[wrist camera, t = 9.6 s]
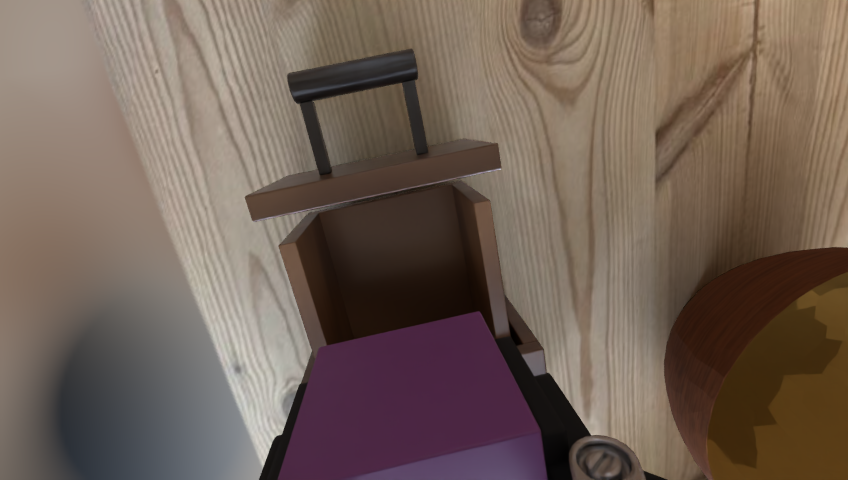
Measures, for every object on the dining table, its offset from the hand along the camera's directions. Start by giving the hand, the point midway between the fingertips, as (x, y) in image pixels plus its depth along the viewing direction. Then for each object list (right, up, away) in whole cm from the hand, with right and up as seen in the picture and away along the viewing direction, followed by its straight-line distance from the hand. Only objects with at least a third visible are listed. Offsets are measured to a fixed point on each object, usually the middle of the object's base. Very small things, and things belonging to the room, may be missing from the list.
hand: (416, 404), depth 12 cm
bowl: (+23, -2, +20) cm, 31 cm away
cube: (0, 0, 0) cm, 0 cm away
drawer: (-2, +6, +14) cm, 16 cm away
